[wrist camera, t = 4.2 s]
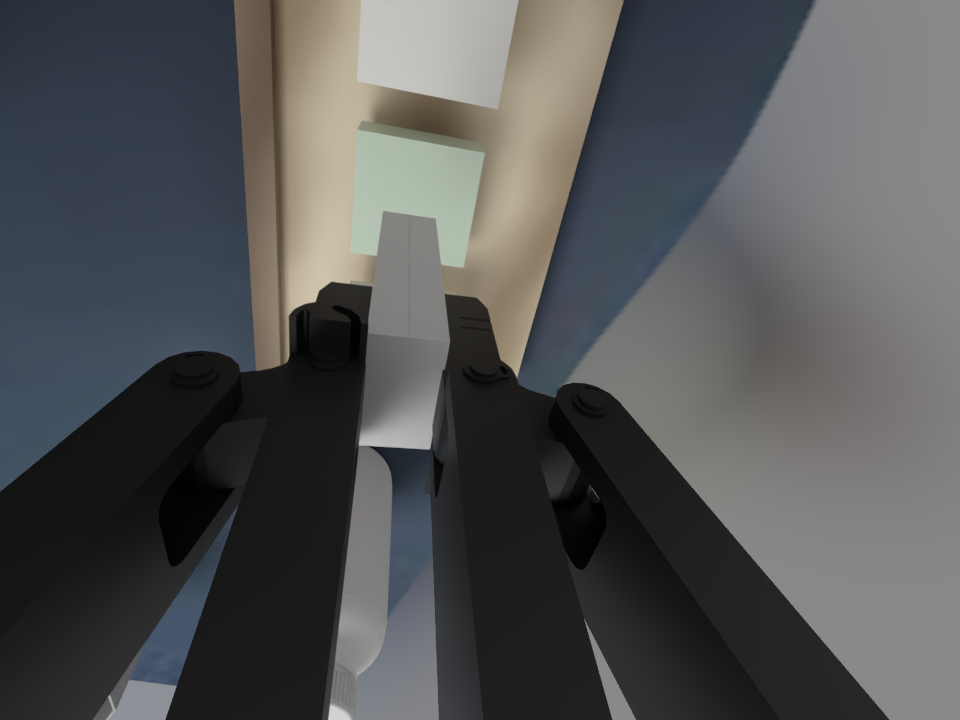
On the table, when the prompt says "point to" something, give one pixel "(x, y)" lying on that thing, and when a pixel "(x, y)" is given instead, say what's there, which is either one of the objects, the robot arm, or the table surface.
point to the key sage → (415, 185)
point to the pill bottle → (363, 581)
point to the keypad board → (346, 102)
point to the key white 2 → (437, 47)
